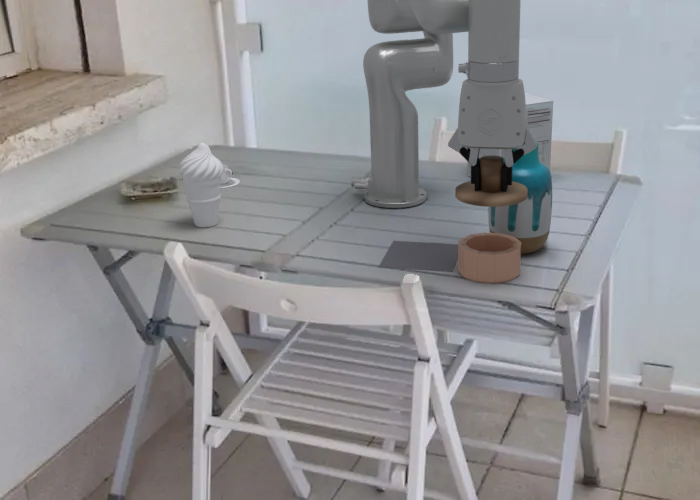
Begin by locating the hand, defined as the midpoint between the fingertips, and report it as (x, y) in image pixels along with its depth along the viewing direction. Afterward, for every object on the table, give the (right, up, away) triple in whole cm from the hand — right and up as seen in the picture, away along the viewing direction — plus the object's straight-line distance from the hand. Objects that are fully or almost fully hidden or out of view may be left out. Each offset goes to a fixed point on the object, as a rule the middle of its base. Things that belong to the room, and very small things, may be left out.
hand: (491, 187), depth 148 cm
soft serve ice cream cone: (-50, -5, +34) cm, 60 cm away
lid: (0, -1, 0) cm, 1 cm away
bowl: (0, -14, +6) cm, 15 cm away
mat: (-10, -11, +13) cm, 20 cm away
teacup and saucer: (-51, +5, +62) cm, 80 cm away
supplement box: (+12, +5, +54) cm, 55 cm away
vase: (+7, -10, +15) cm, 19 cm away
